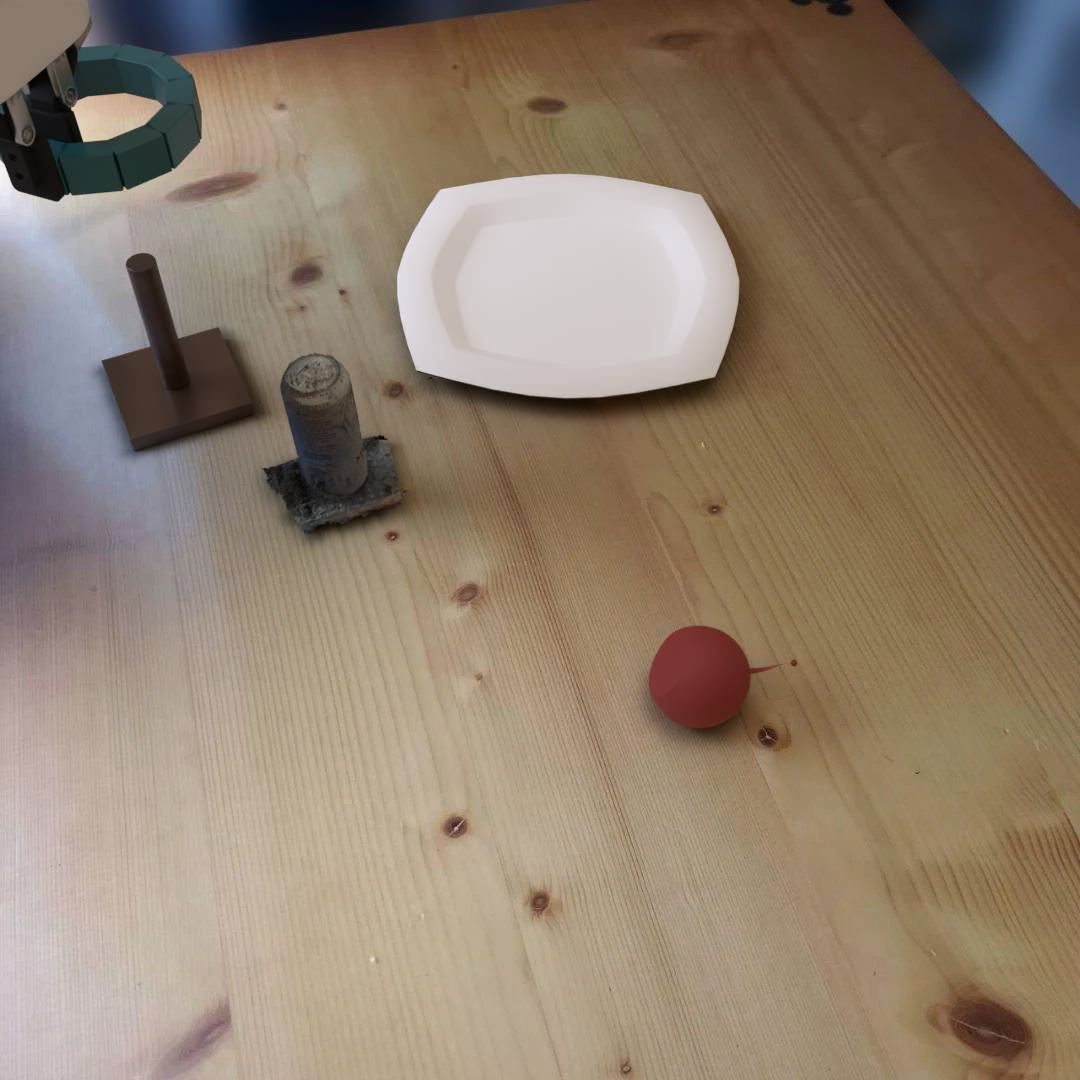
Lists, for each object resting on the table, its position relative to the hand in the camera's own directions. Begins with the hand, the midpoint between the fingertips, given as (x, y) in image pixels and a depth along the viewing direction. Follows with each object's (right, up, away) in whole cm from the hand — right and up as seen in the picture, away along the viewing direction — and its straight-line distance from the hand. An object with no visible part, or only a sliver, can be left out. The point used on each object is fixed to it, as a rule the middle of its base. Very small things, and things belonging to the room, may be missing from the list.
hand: (53, 179), depth 74 cm
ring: (+2, +3, +3) cm, 5 cm away
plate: (+30, -1, +30) cm, 42 cm away
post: (+1, -10, +23) cm, 25 cm away
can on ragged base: (+14, -17, +17) cm, 28 cm away
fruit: (+39, -30, +6) cm, 49 cm away
